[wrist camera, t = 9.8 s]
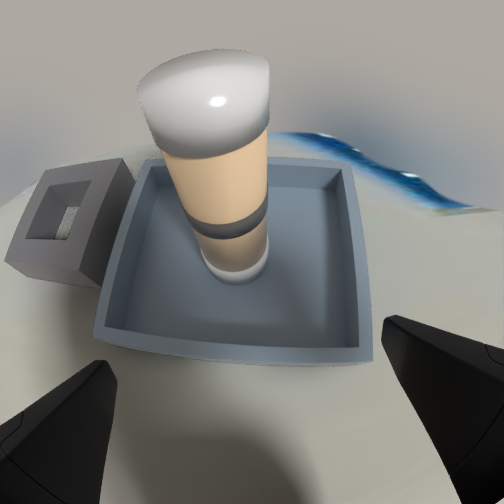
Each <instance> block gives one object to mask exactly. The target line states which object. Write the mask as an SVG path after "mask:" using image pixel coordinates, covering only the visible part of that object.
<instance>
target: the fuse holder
mask: <svg viewBox="0 0 504 504" xmlns="http://www.w3.org/2000/svg"><path fill="white" fill-rule="evenodd" d="M135 183H136V182H135V181H134V179H133V177H132V175H131V173H130V171H129V169H128V168H127V166H126V164H125V162H124V160H123V158H118V159H110V160H103V161H96V162H89V163H83V164H77V165H71V166H65V167H60V168H55V169H50V170H46V171H45V172H44V174H43V176H42V177H41V179H40V181H39V183H38V185H37V186H36V188H35V190H34V192H33V194H32V196H31V198H30V200H29V202H28V204H27V206H26V208H25V211H24V213H23V215H22V217H21V219H20V222H19V224H18V226H17V229H16V231H15V233H14V236H13V238H12V241H11V243H10V246H9V249H8V252H7V254H6V257H5V260H4V261H5V262H6V263H8V264H9V265H10V266H12V267H13V268H15V269H16V270H18V271H19V272H21V273H22V274H24V275H25V276H27V277H30V278H35V279H41V280H47V281H53V282H59V283H65V284H72V285H78V286H85V287H92V288H100V289H102V286H103V282H104V278H105V274H106V270H107V266H108V263H109V259H110V256H111V252H112V249H113V246H114V243H115V239H116V236H117V233H118V230H119V227H120V224H121V221H122V218H123V215H124V212H125V210H126V207H127V204H128V201H129V199H130V196H131V193H132V191H133V188H134V186H135ZM73 206H80V207H79V210H78V212H77V214H76V217H75V219H74V222H73V224H72V227H71V229H70V232H69V235H68V237H67V240H54V238H55V235H56V232H57V230H58V227H59V225H60V222H61V220H62V218H63V215H64V213H65V211H66V208H67V207H73Z"/></svg>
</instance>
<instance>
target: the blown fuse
mask: <svg viewBox="0 0 504 504" xmlns="http://www.w3.org/2000/svg"><path fill="white" fill-rule="evenodd" d="M136 93H137V96H138V99H139V102H140V104H141V107H142V110H143V113H144V115H145V118H146V121H147V123H148V126H149V129H150V131H151V134H152V136H153V139H154V142H155V143H156V145H157V146H158V147H159V148H160V150H161V152H162V155H163V157H164V160H165V163H166V165H167V168H168V170H169V173H170V175H171V178H172V180H173V183H174V185H175V188H176V190H177V193H178V195H179V198H180V203H181V205H182V208H183V210H184V213H185V215H186V217H187V220H188V222H189V223H190V225H191V226H192V229H193V231H194V233H195V236H196V238H197V240H198V243H199V245H200V248H201V253H202V256H203V258H204V260H205V263H206V265H207V267H208V269H209V271H210V273H211V274H212V275H213V277H214V278H216V279H217V280H218V281H220V282H222V283H224V284H227V285H231V286H241V285H245V284H249V283H251V282H253V281H254V280H256V279H257V278H258V277H260V275H261V274H262V273H263V272H264V270H265V268H266V266H267V263H268V252H269V240H268V234H267V209H268V181H267V126H268V123H269V65H268V63H267V61H266V60H265V59H264V58H262V57H261V56H259V55H257V54H254V53H251V52H247V51H242V50H235V49H213V50H205V51H199V52H194V53H190V54H186V55H183V56H180V57H177V58H174V59H172V60H169V61H167V62H165V63H163V64H161V65H159V66H158V67H156V68H154V69H153V70H151V71H150V72H149V73H148V74H146V75H145V76H144V77H143V78H142V79H141V81H140V82H139V84H138V86H137V89H136Z"/></svg>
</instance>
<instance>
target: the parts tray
mask: <svg viewBox="0 0 504 504" xmlns="http://www.w3.org/2000/svg"><path fill="white" fill-rule="evenodd" d="M267 181H268V209H267V234H268V240H269V252H268V263H267V266H266V268H265V270H264V272H263V273H262V274H261V275H260V277H258V278H257V279H256V280H254V281H253V282H251V283H249V284H245V285H241V286H231V285H227V284H224V283H222V282H220V281H218V280H217V279H216V278H214V277H213V275H212V274H211V273H210V271H209V269H208V267H207V265H206V263H205V260H204V258H203V256H202V253H201V248H200V245H199V243H198V240H197V238H196V236H195V233H194V231H193V229H192V226H191V225H190V223H189V222H188V220H187V217H186V215H185V213H184V210H183V208H182V205H181V203H180V198H179V195H178V193H177V190H176V188H175V185H174V183H173V180H172V178H171V175H170V173H169V170H168V168H167V165H166V163H165V160H164V159H152V160H145V161H144V164H143V166H142V168H141V171H140V173H139V176H138V178H137V181H136V183H135V186H134V188H133V191H132V193H131V196H130V199H129V201H128V204H127V207H126V210H125V212H124V215H123V218H122V221H121V224H120V227H119V230H118V233H117V236H116V239H115V243H114V246H113V249H112V252H111V256H110V259H109V263H108V266H107V270H106V274H105V278H104V282H103V286H102V290H101V294H100V298H99V302H98V307H97V312H96V317H95V321H94V327H93V332H92V337H93V338H96V339H99V340H101V341H104V342H107V343H110V344H113V345H116V346H120V347H125V348H130V349H135V350H140V351H146V352H151V353H157V354H163V355H169V356H176V357H183V358H190V359H198V360H207V361H216V362H226V363H238V364H252V365H270V366H353V365H359V364H363V363H367V362H371V361H373V337H372V314H371V299H370V287H369V276H368V266H367V258H366V250H365V242H364V235H363V228H362V222H361V216H360V210H359V204H358V199H357V193H356V188H355V183H354V178H353V174H352V169H351V164H350V162H342V161H331V160H319V159H305V158H286V157H267Z"/></svg>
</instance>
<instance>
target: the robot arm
mask: <svg viewBox="0 0 504 504" xmlns="http://www.w3.org/2000/svg"><path fill="white" fill-rule="evenodd" d="M381 341H382V345H383V348H384V350H385V352H386V354H387V356H388V358H389V361H390V363H391V365H392V367H393V370H394V372H395V374H396V376H397V378H398V381H399V382H400V384H401V386H402V388H403V389H404V391H405V393H406V395H407V396H408V398H409V400H410V402H411V403H412V405H413V407H414V409H415V411H416V412H417V414H418V416H419V418H420V420H421V421H422V423H423V425H424V427H425V429H426V431H427V433H428V434H429V436H430V438H431V440H432V442H433V444H434V446H435V448H436V450H437V452H438V454H439V456H440V458H441V460H442V462H443V464H444V466H445V468H446V470H447V472H448V474H449V475H450V476H449V477H450V479H451V481H452V483H453V485H454V487H455V490H456V492H457V494H458V496H459V499H460V501H461V503H462V504H496V503H497V502H499V501H500V500H501V499H503V498H504V349H501V348H497V347H494V346H491V345H488V344H483V343H481V342H478V341H475V340H472V339H469V338H466V337H462V336H459V335H456V334H453V333H450V332H447V331H444V330H441V329H438V328H435V327H432V326H429V325H425V324H422V323H419V322H416V321H413V320H410V319H407V318H404V317H401V316H398V315H393V316H389V317H386V318H385V319H384V322H383V329H382V337H381ZM116 392H117V379H116V377H115V375H114V373H113V371H112V369H111V367H110V365H109V364H108V362H107V361H105V360H95V361H93V362H92V363H90V364H89V365H87V366H86V367H85V368H83V369H82V370H80V371H79V372H77V373H76V374H75V375H73V376H72V377H70V378H69V379H67V380H66V381H65V382H63V383H62V384H60V385H59V386H57V387H56V388H54V389H53V390H52V391H50V392H49V393H47V394H46V395H44V396H43V397H42V398H40V399H39V400H37V401H36V402H34V403H33V404H32V405H30V406H29V407H27V408H26V409H25V410H24V411H21V412H20V413H19V414H17V415H16V416H14V417H13V418H11V419H10V420H8V421H7V422H5V423H3V424H2V425H0V504H99V502H100V493H101V486H102V479H103V472H104V466H105V460H106V454H107V449H108V443H109V438H110V433H111V429H112V423H113V417H114V408H115V399H116Z"/></svg>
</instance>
